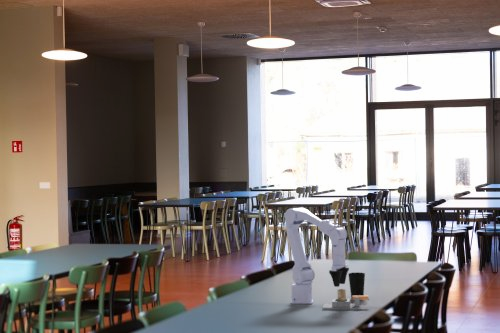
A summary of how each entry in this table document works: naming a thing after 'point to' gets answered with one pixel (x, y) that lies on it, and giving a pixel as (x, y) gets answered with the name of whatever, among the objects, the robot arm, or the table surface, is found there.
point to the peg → (341, 294)
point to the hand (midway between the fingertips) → (339, 285)
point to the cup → (356, 284)
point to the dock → (342, 305)
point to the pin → (360, 297)
